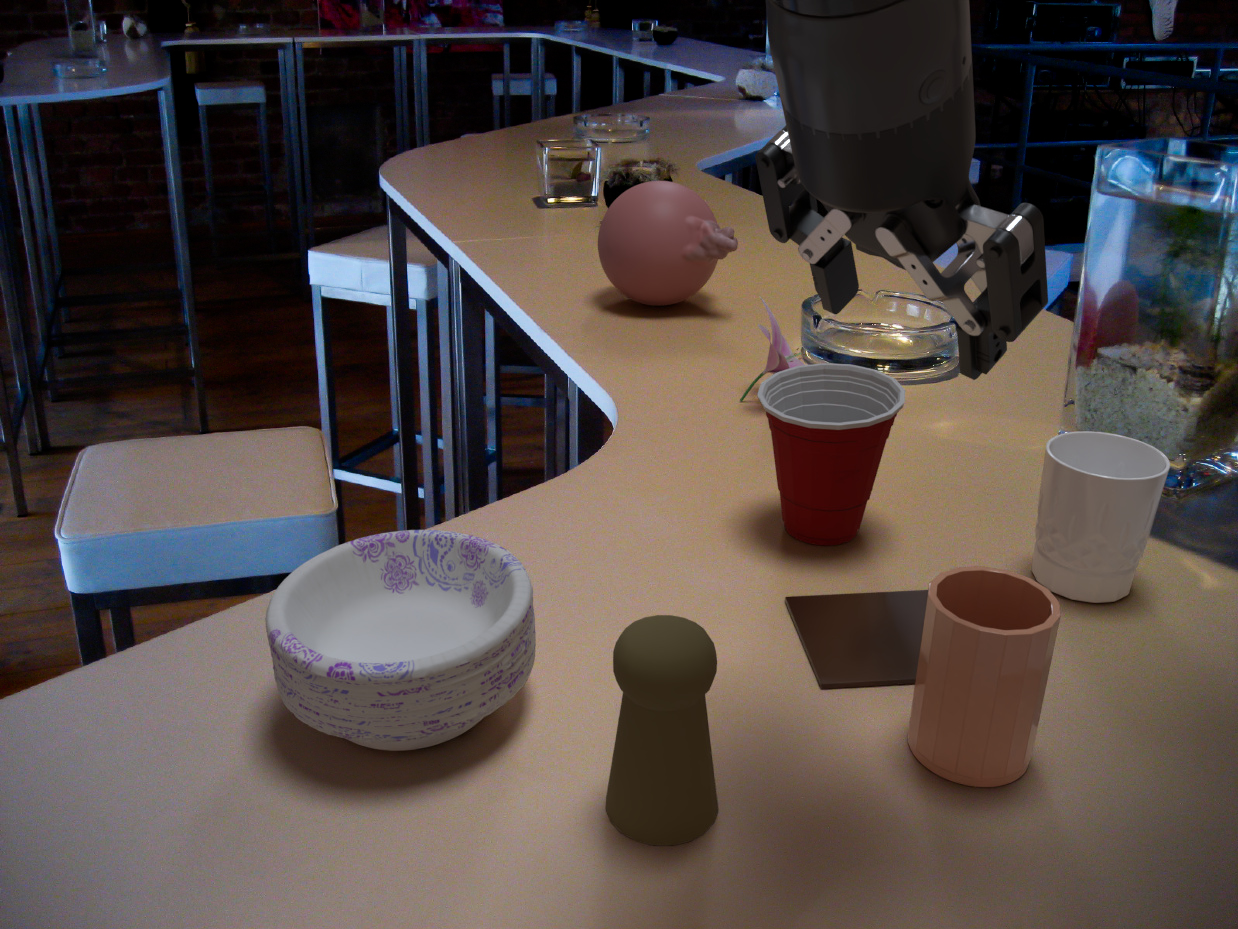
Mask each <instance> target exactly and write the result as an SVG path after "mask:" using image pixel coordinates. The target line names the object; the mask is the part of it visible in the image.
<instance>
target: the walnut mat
mask: <svg viewBox="0 0 1238 929" xmlns="http://www.w3.org/2000/svg"><path fill="white" fill-rule="evenodd" d="M927 595H928V589H918V590H917V589H915V590H895V591H875V592H856V593H855V592H854V593H835V594H814V595H792V596H791V595H789V596H784V602H785V605H786V608H787V610H788V612H789V614H790V617H791V619H792V621H793V624H794V626H795V629H796V631H797V633H798V636H799V638H800V641H801V643H802V646H803V648H804V651H805V653H806V656H807V658H808V660H809V663H810V665H811V668H812V670H813V673H814V675H815V677H816V680H817V682H818V684H819V688H820V689H821V690H823V689H840V688H841V689H842V688H843V689H844V688H859V687H862V688H863V687H877V686H878V687H880V686H895V685H913V684H914V685H915V679H916V672H917V665H918V658H919V651H920V644H921V637H922V630H923V623H924V616H925V609H926V602H927Z"/></svg>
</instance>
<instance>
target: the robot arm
mask: <svg viewBox="0 0 1238 929" xmlns="http://www.w3.org/2000/svg"><path fill="white" fill-rule="evenodd" d="M765 9H766V10H765V11H766V29H767V39H768V45H769V51H770V55H771V60H772V64H773V70H774V74H775V79H776V83H777V88H778V92H779V93H778V94H779V98H780V102H781V107H782V112H783V117H784V121H785V125H784V126H783V128H781V129H780V130H779V131H778V132H776V134H774V135H773V137H771V138H770V139H769V140H768V141H767V142H766V143H765V145H764V146H763V147H761V149H759V150H758V152H757V153H755V156H754V158H755V165H756V169H757V175H758V180H759V185H760V190H761V195H762V199H763V204H764V210H765V215H766V220H767V225H768V230H769V233H770V235H771V236H772V238H773V239H775V241H777V242H779V243H781V244H787V243H788V242H789V240H791V241H792V242H794V243H795V244H796V245H798V248H797V250H798V251H797V252H798V253H799V255H800V257H801V258H802V259H803V260H804V261H805V262H807V263H808V264H809V267H810V268H809V269H810V272H811V276H812V280H813V285H814V289H815V292H816V293H817V295H818V297H819V299H820V302H821V307H822V309H823V310H825V311H826V312H829V313H830V314H833V315H838V314H839V313H841V312H842V310H844V309H845V307H846V306H847V305H848V304H850V302H851V301H852V300H853V299H854V298H855V297H856V296H857V294H858V292H859V288H860V286H859V285H860V283H859V279H858V272H857V267H856V266H857V265H856V261H855V255H854V250H853V244H854V245H855V249H856V250H857V251H859V252H861V253H864V254H866V255H868V256H873V257H879V258H882V259H884V260H886V261H887V262H889V263H890V264H892V265H893V266H895V267H897V268H899V269H902V270H904V271H906V272H907V273H908V275H909V276H910V277H911V278H912V280H913V281H914V283H915V284H916V286H917V287H918V288H919V289H920V291H921V292H922V293H923V295H924V296H925V298H926V299H927V300H929V301H930V302H936V301H940V302H941V303H942V304H943V306H944V307H945V308H946V310H947V311H948V312H949V313H950V315H951V316H952V318H953V319H954V321H955V322H956V323H957V325H958V326H957V327H956V338H957V348H958V363H959V373H960V374H961V375H962V376H964V377H966V378H969V379H970V380H972V381H975V380H977V379H978V378H980V376H982V374H984V375H988V373H990V371H991V370H992V369H993V368H994V367H995V365H996V364H997V363H998V362H999V361H1000V360H1001V359H1002V358H1003V357H1004V355H1005V354H1006V353H1007V351H1008V343H1013V342H1015V341H1016V340H1017V339H1018V338H1019V336H1020V335H1021V334H1022V333H1023V332H1024V331H1025V329H1027V327H1028V326H1029V325H1030V324H1031V323H1032V322H1033V321H1034V320H1035V319H1036V317H1037V316H1038V315H1039V314H1040V313H1041V312H1042V311H1043V310H1044V308H1045V307H1046V306H1047V305H1048V303H1049V290H1048V289H1049V288H1048V274H1047V273H1048V272H1047V258H1046V257H1047V256H1046V241H1045V240H1046V238H1045V224H1044V221H1045V220H1044V215H1043V212H1042V211H1041V210H1040V209H1039V208H1038V207H1037V206H1036V205H1034V204H1032V203H1029V202H1022V203H1020V204H1019V205H1018V206H1017V207H1016V208H1015V209H1014V210H1013V211H1012V212H1011V213H1010V214H1008V213H1004V212H1002V211H998V210H994V209H992V208H988V207H984V206H981V202H980V198H979V197H978V195H977V193H976V191H975V190H974V188H973V185H972V183H971V180H970V172H971V167H972V161H973V156H974V151H975V147H976V135H977V134H976V113H975V94H974V93H975V92H974V91H975V90H974V73H973V72H974V71H973V54H972V52H973V51H972V32H971V30H972V29H971V12H970V0H765ZM817 200H818V201H819V202H820V203H821V205H822V207H824V209H825V210H826V211H827V214H826V215H825V216H823V215H821V214H820V213H818V211H819V210H818V208H819V207H818V202H817ZM844 236H845V237H846V238H847V239H846V238H845V237H844ZM852 243H853V244H852ZM955 245H956V246H957V253H956V256H955V257H954V259H952V261H951V262H950V263H949V264H948V265H947V266H946V267H945V268H944V269H943V270H942V271H940V270H939V269H938V268H937V266H936V265H935V264H934V262H935V261H937V259H939V258H940V257H941V256H942V255H944V254H945V253H946V252H947V251H948V250H950V249H951V248H952V247H953V246H955ZM970 280H971V281H972V282H973V284H975V286H976V288H977V289H978V290H979V292H980V294H979V295H978V296H977V297H976V298H975V299H974V300H973V301H972V299H971V298H970V297H969V295H968V294H967V292H966V290H965V286H966V284H967V283H968V282H969V281H970Z"/></svg>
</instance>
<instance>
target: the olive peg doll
mask: <svg viewBox="0 0 1238 929" xmlns="http://www.w3.org/2000/svg"><path fill="white" fill-rule="evenodd" d="M717 670H718V656H717V649H716V646H715V642H714V641H713V640H712V638H711V637H710V634H708V633H707V630H705V628H704V627H702V626H701V625H700V624H698V623H697V622H696V621H693V620H691V619H688V618H686V617H682V616H677V615H671V614H657V615H656V614H655V615H651V616H645V617H642V618H639V619H637V620H635V621H633V622H632V623H630V624H629V625H628V626H626V627H625V628H624V630H623V631H622V632H621V634H619V637H618V638H617V640H616V642H615V644H614V647H613V651H612V671H613V674H614V678H615V681H616V683H617V685H618V686H619V689H620V690H621V691H622V694H621V695H622V696H621V702H620V708H619V714H618V720H617V728H616V733H615V739H614V746H613V752H612V757H611V765H610V770H609V776H608V783H607V789H606V795H605V796H606V797H605V812H606V814H607V816H608V818H609V820H610V823H611V824H612V825H613V826H614V827H615V828H616V830H618V831H619V833H621V834H623V835H625V836H627V837H628V838H630V839H632V840H634V841H635V842H639V843H642V844H646V845H651V846H676V845H680V844H685V843H689V842H692V841H693V840H695V839H697V838H699V837H701V836H703V835H704V834H705V833H707V831H708V830H709V829H710V828H711V827H712V826H713V824H715V822H716V819H717V815H718V813H719V804H718V794H717V786H716V777H715V769H714V768H715V767H714V760H713V752H712V750H713V749H712V742H711V734H710V733H711V732H710V726H709V724H710V723H709V716H708V707H707V700H706V695H707V693H708V692H709V691H710V690H711V687H712V685H713V683H714V680H715V677H716V675H717V673H718V671H717Z"/></svg>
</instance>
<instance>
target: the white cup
mask: <svg viewBox="0 0 1238 929" xmlns="http://www.w3.org/2000/svg"><path fill="white" fill-rule="evenodd" d="M1044 449H1045V450H1044V451H1045V452H1044V457H1043V465H1042V466H1043V467H1042V471H1041V480H1040V487H1039V492H1038V493H1039V496H1038V500H1037V514H1036V521H1035V528H1034V529H1035V530H1034V531H1035V542H1034V547H1033V548H1034V549H1033V555H1032V561H1031V562H1032V563H1031V572H1032V574H1033V575H1034V578H1035V581H1036V582H1037V583H1039V584H1041V585H1042V586H1044V587H1045V588H1047V589H1048V590H1049V591H1050V592H1051V593H1054V594H1056V595H1058V596H1062V597H1064V598H1067V599H1068V600H1069V599H1070V600H1074V601H1078V602H1085V603H1093V604H1101V603H1112V602H1117V601H1119V600H1120V599H1123V598H1125V597H1127V596H1128V595H1129V594H1130V591H1131V588H1132V585H1133V582H1134V579H1135V575H1136V571H1137V569H1138V566H1139V565H1140V564H1139V563H1140V561H1142V559H1143V556H1144V552H1145V549H1146V546H1147V544H1148V541H1149V539H1150V535H1151V532H1152V528H1153V525H1154V521H1155V518H1156V515H1157V511H1158V509H1159V506H1160V502H1161V498H1162V495H1163V492H1164V488H1165V485H1166V481H1167V477H1168V475H1169V472H1170V468H1171V461H1170V459H1169V458H1168V456H1167V455H1166V454H1164V452H1162V451H1161V450H1160V449H1158V448H1157V447H1155V446H1153V445H1151V444H1149V443H1147V442H1144V441H1143V440H1139V439H1136V438H1132V437H1129V436H1125V435H1121V434H1116V433H1112V432H1103V431H1093V430H1092V431H1091V430H1082V431H1081V430H1080V431H1071V432H1070V431H1069V432H1064V433H1059V434H1057V435H1054V436H1053V437H1051V438H1050V439H1049V440H1047V442H1046V444H1045V448H1044Z"/></svg>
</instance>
